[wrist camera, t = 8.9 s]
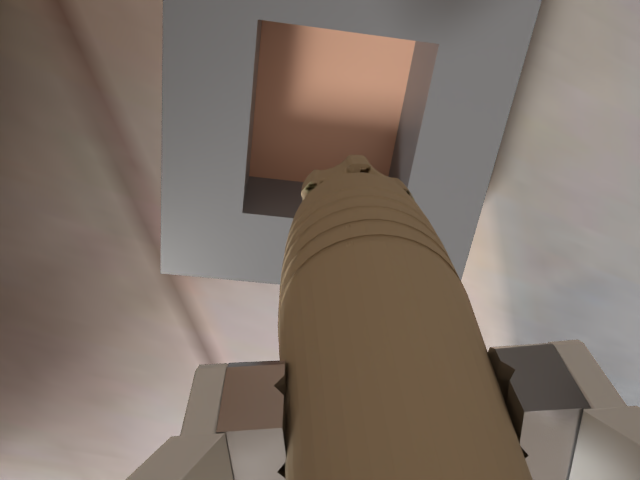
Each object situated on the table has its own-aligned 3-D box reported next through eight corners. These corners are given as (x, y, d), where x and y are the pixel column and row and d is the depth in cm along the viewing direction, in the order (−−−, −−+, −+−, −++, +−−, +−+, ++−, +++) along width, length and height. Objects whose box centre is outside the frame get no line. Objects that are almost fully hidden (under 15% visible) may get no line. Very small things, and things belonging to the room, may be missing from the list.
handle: (390, 66, 15) (993, 973, 2) (462, 260, 18) (908, 1166, 5) (225, 139, 16) (-111, 1140, 3) (318, 315, 19) (369, 1220, 6)
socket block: (434, 251, 30) (455, 300, 26) (178, 226, 29) (160, 273, 25) (510, -48, 24) (554, -43, 20) (186, -97, 23) (164, -102, 19)
